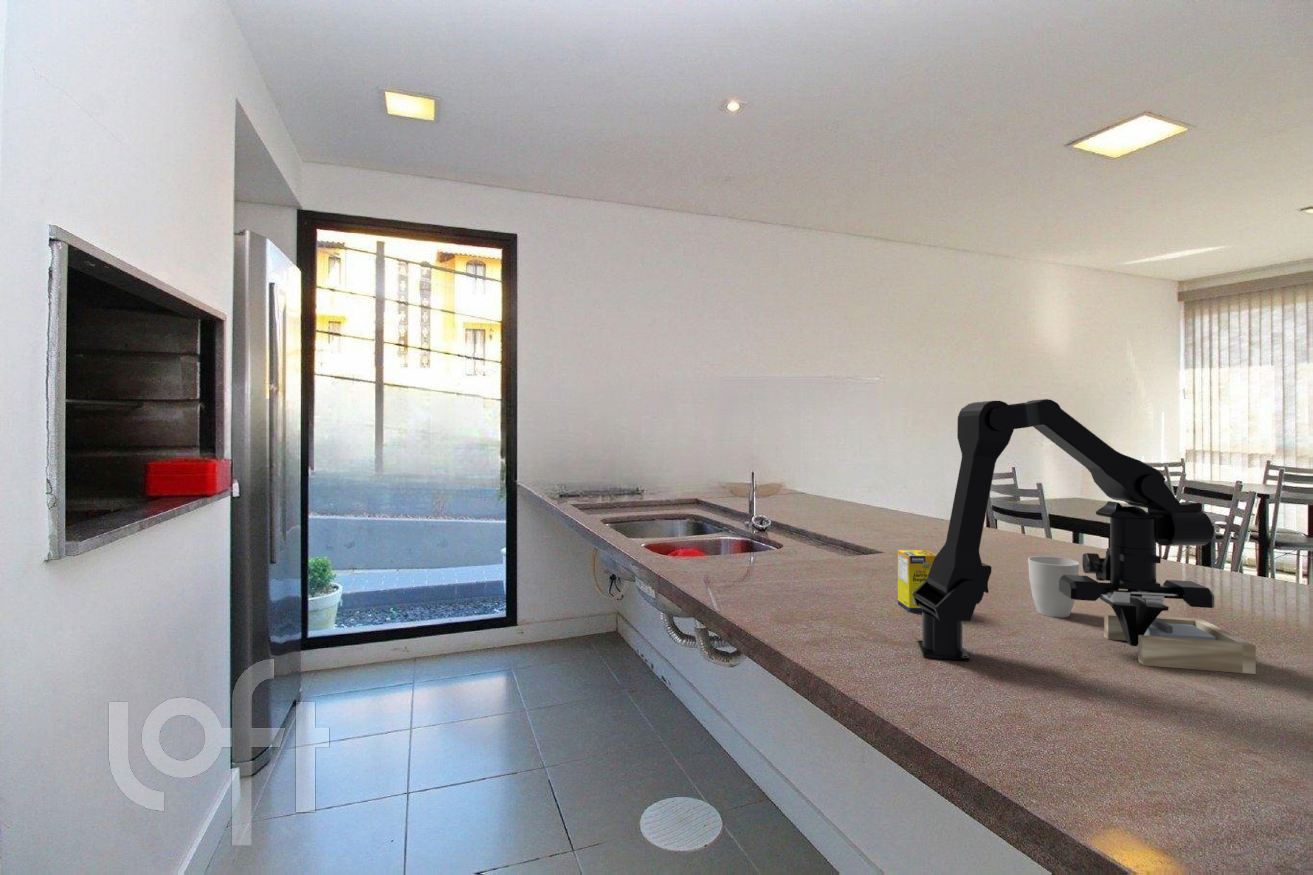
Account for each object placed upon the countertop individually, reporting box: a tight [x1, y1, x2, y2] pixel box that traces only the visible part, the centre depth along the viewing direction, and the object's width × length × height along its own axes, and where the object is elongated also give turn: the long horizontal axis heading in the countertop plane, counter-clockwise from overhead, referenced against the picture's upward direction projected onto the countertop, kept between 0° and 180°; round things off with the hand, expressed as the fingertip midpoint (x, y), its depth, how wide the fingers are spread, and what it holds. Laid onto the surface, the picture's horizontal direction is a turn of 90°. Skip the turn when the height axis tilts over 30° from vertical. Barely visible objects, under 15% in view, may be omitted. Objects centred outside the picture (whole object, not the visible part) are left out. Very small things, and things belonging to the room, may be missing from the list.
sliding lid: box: [1144, 618, 1216, 640], centre depth 94 cm, size 6×7×5 cm
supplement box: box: [897, 549, 937, 613], centre depth 120 cm, size 6×6×11 cm
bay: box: [1103, 612, 1257, 675], centre depth 94 cm, size 13×14×4 cm
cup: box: [1027, 555, 1080, 618], centre depth 115 cm, size 8×8×10 cm
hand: (1132, 645), depth 96 cm, fingers closed
